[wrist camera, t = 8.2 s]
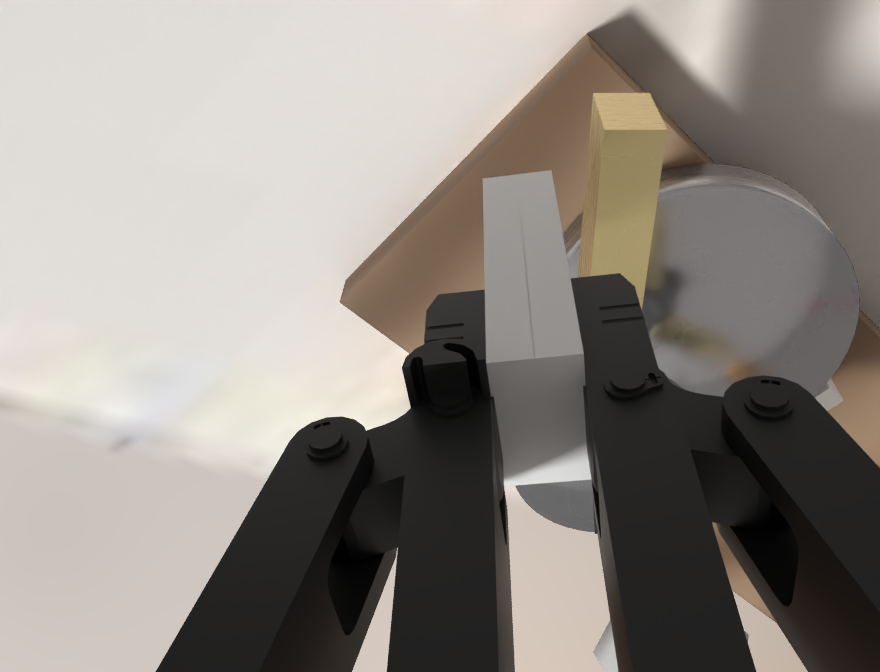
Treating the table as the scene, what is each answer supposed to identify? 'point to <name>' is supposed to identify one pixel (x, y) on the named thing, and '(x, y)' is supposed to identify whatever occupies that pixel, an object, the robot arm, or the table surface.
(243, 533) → the robot arm
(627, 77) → the board
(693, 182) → the cam capstan
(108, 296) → the table surface
